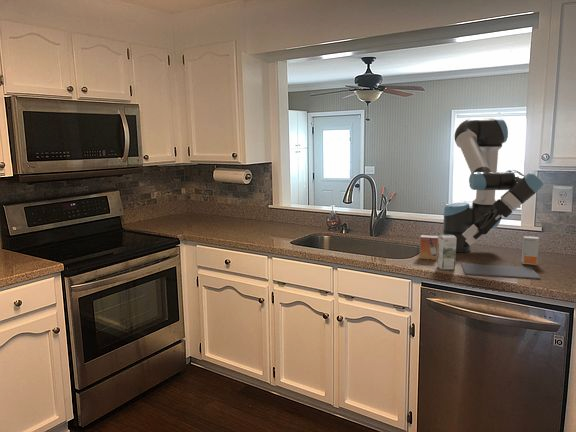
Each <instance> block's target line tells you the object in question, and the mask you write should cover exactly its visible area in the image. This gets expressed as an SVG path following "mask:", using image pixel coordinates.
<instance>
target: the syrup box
mask: <svg viewBox="0 0 576 432" xmlns="http://www.w3.org/2000/svg"><path fill="white" fill-rule="evenodd" d="M456 241H457V238H456V237H455V236H454V235H443V234H439V235H438V255H437V266H436V267H437V268H438V269H440V270H441V271H455V270H456V255H457V252H456Z"/></svg>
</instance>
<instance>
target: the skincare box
mask: <svg viewBox="0 0 576 432" xmlns="http://www.w3.org/2000/svg"><path fill="white" fill-rule="evenodd" d="M522 238H523V239H522V248H521V261H520V262H521V264H522V265H531V266H538V260H539V259H538V257H539V247H540V237H538V236H530V235H529V236H525V235H524V236H522Z"/></svg>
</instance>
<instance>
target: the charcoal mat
mask: <svg viewBox="0 0 576 432" xmlns="http://www.w3.org/2000/svg"><path fill="white" fill-rule="evenodd" d="M461 266H462V269H463V272H464V275H465V276H482V277H494V278H495V277H499V278H510V279H511V278H513V279H514V278H515V279H530V280H541V278H542V277H540V276H539V274H538V273H537V272H536V271H535V270H534V269H533V267H531V266H514V265H513V266H512V265H498V264H497V265H496V264H495V265H493V264H479V263H478V264H476V263H461Z"/></svg>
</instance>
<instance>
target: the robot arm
mask: <svg viewBox="0 0 576 432" xmlns="http://www.w3.org/2000/svg"><path fill="white" fill-rule="evenodd" d="M508 129H509V128H508V125H507V122H506V121H505V120H504V119H502V118H496V117H491V118H468V119H466V120H464V121H462V122H461V123H460V124H459V125H458V126H457V127H456V129H455V132H454V142H455V144H456V146H457V147H458V148H460V150H461V152H462V154H463V157H464V160H465V162H466V163H467V166H468V169H469V171H470V173H471V174H469V179H468V183H469V188H470V189H471V190H472V191H476V194H475V199H474V200H472V203H471V205H470V203H469V202H453V203H448V204H446V205H445V206H444V208H443V209H444V210H443V223H442V224H443V225H442V226H443V228H442V229H443V230H442V235H454V236H455V237H456V238H457V241H456V253H468V252H471V246H472V245H473V244H474V243H475V242H476V241H477V240H479V239H480V238H481V237H482V236H483V235H487V234H488V233H489V232H490V231H491V229H496V228H497V227H498V226H499V225H500V223H501V220H502V218H503V217H504V218H508V217H509V216H510V215H511V214H513V211H516V210H517V209H520V208H521V207H522V205H523V204H524V203H525V202H527V201H528V200H529V199H530V198H531V197H533V196H534V195H535V194H536V193H538V191H539V190H541V188H543V186H544V183H543V181H542V180H541V179H540V178H539V177H538V176H537V175H536V174H534V173H533V172H528V173H527V174H525V175H524V174H523V173H522V172H520V171H518V170H515V169H508V170H507V171H505V172H503V171H501V172H500V171H498V160H499V159H498V158H499V150H500V149H502V148H503V144H505V143H506V142H507V140H508V137H509V130H508ZM496 191H506V192H504V194H503V195H501V196H500V199H499V198H498V199H495V198H496ZM502 216H503V217H502Z"/></svg>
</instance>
